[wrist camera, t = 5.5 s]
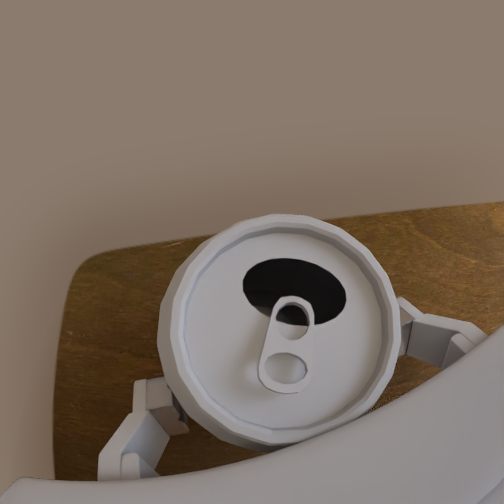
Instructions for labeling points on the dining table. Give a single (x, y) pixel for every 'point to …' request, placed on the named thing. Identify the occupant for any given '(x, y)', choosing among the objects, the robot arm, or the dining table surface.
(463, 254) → the dining table surface
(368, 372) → the can
